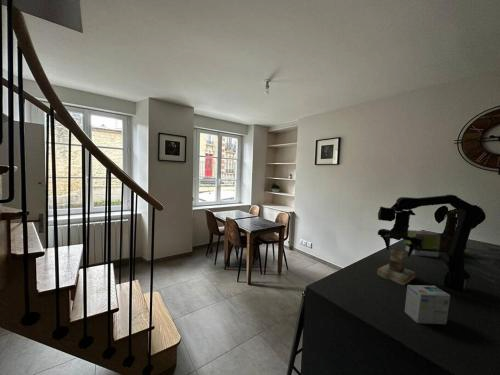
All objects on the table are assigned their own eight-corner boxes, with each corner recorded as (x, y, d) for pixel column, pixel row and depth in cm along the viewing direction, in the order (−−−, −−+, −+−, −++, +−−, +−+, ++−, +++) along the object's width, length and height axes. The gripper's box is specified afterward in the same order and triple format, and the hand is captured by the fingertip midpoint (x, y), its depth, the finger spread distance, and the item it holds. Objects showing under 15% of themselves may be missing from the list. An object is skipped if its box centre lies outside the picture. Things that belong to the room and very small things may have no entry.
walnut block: (403, 270, 110) (405, 261, 110) (400, 273, 107) (401, 263, 107) (392, 267, 114) (393, 257, 114) (388, 269, 111) (389, 259, 111)
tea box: (427, 252, 152) (430, 231, 150) (438, 257, 142) (441, 235, 140) (404, 249, 153) (407, 229, 152) (413, 255, 143) (416, 233, 142)
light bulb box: (430, 312, 82) (434, 284, 82) (447, 325, 76) (451, 295, 75) (403, 311, 82) (406, 283, 81) (417, 324, 75) (421, 294, 74)
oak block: (405, 261, 110) (406, 251, 109) (401, 263, 107) (402, 253, 106) (393, 257, 114) (395, 248, 113) (389, 259, 111) (391, 249, 110)
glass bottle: (469, 254, 151) (475, 214, 149) (458, 258, 142) (464, 216, 140) (437, 246, 166) (442, 209, 164) (426, 249, 158) (431, 210, 155)
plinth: (414, 277, 110) (415, 271, 110) (404, 285, 102) (405, 278, 102) (388, 268, 120) (388, 262, 120) (376, 274, 111) (377, 268, 111)
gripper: (374, 220, 111) (371, 249, 112) (419, 229, 96) (414, 263, 98) (384, 218, 118) (380, 246, 119) (427, 226, 103) (422, 258, 104)
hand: (398, 253), depth 110 cm, fingers open, 9 cm apart
